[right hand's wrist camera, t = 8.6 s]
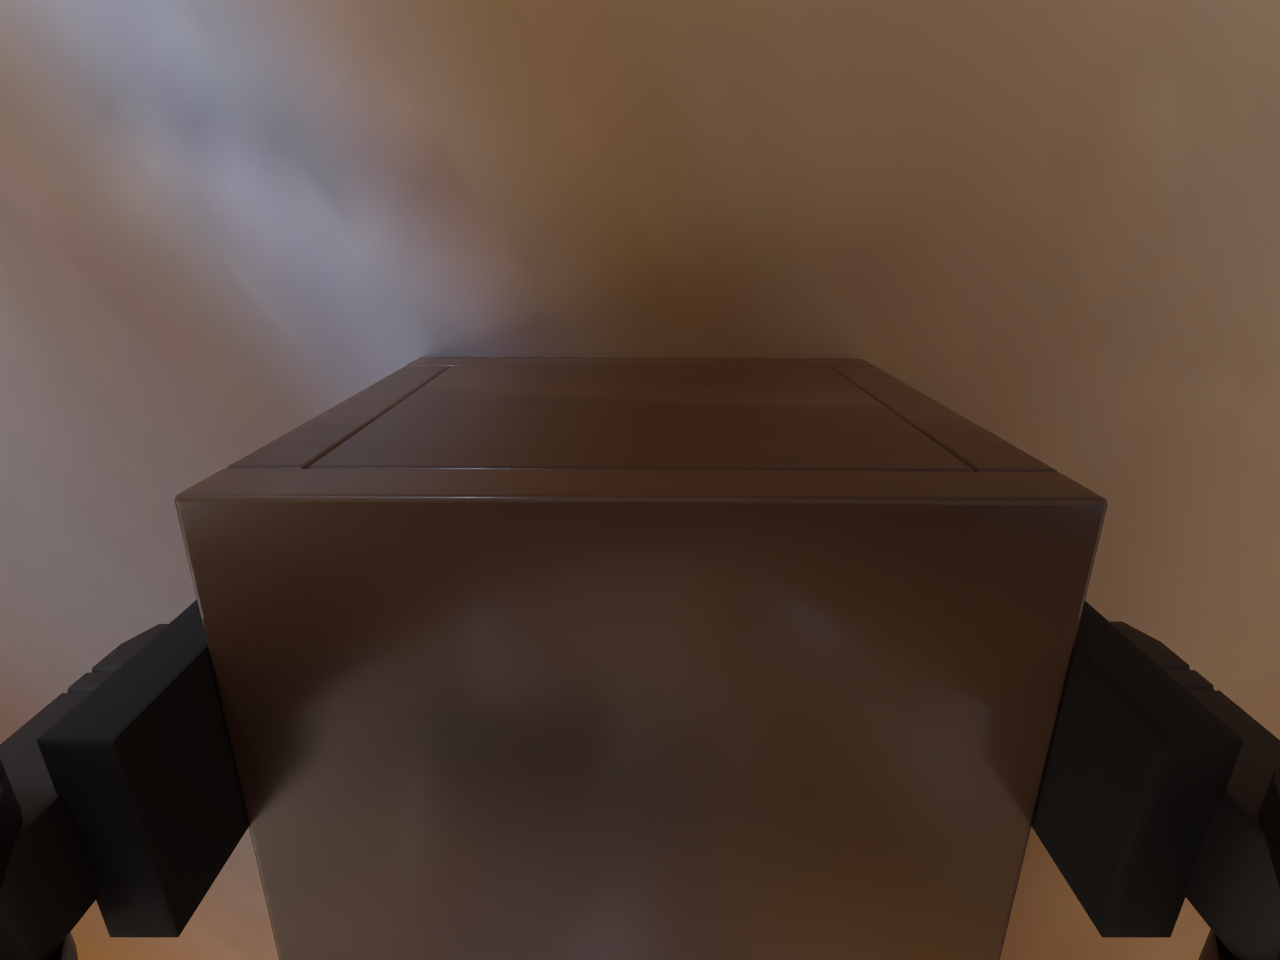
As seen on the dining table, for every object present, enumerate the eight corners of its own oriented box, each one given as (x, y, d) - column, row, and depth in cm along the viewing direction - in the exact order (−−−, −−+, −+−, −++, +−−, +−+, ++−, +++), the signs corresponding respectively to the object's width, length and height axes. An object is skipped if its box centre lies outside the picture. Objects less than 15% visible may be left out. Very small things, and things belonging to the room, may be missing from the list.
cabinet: (796, 983, 23) (889, 1433, 14) (481, 981, 23) (385, 1431, 14) (863, 358, 16) (1112, 498, 8) (419, 357, 16) (170, 495, 8)
